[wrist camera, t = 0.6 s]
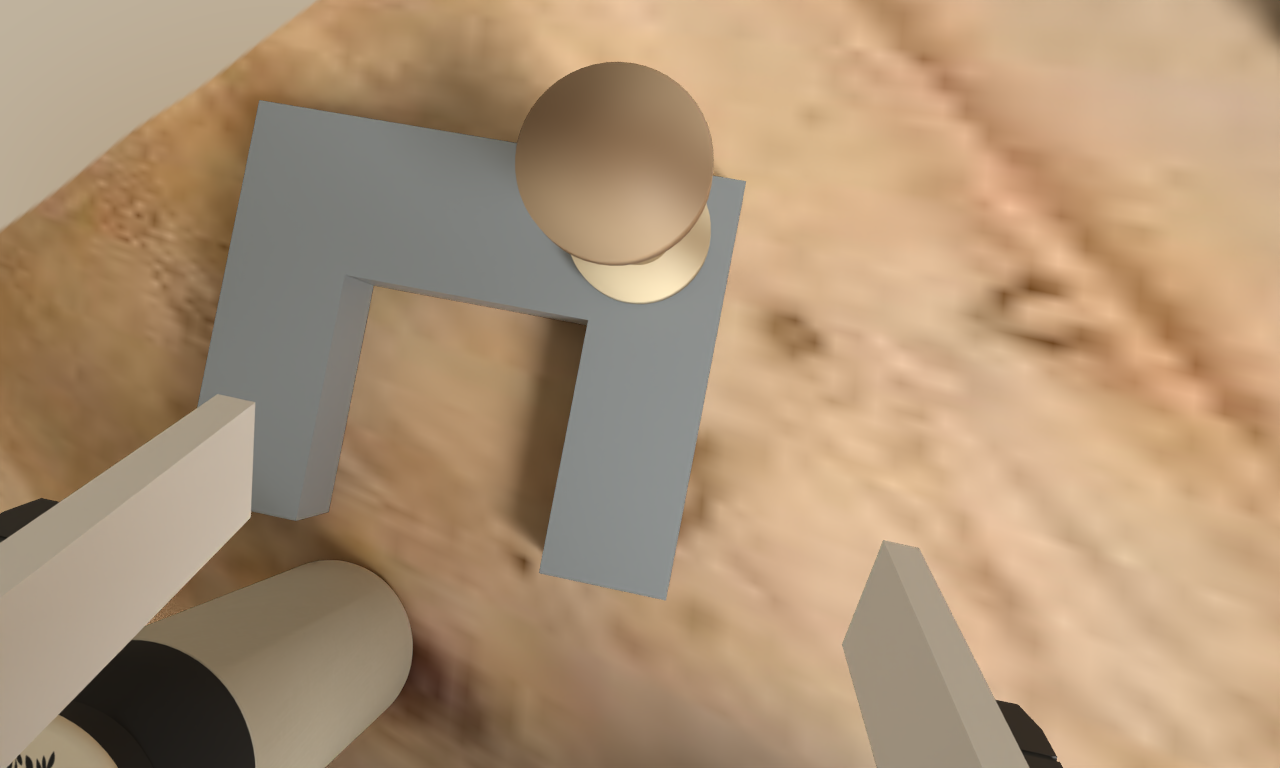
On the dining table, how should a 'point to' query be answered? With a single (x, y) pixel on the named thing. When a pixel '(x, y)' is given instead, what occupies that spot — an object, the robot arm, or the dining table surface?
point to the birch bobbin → (620, 178)
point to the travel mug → (243, 679)
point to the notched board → (466, 272)
